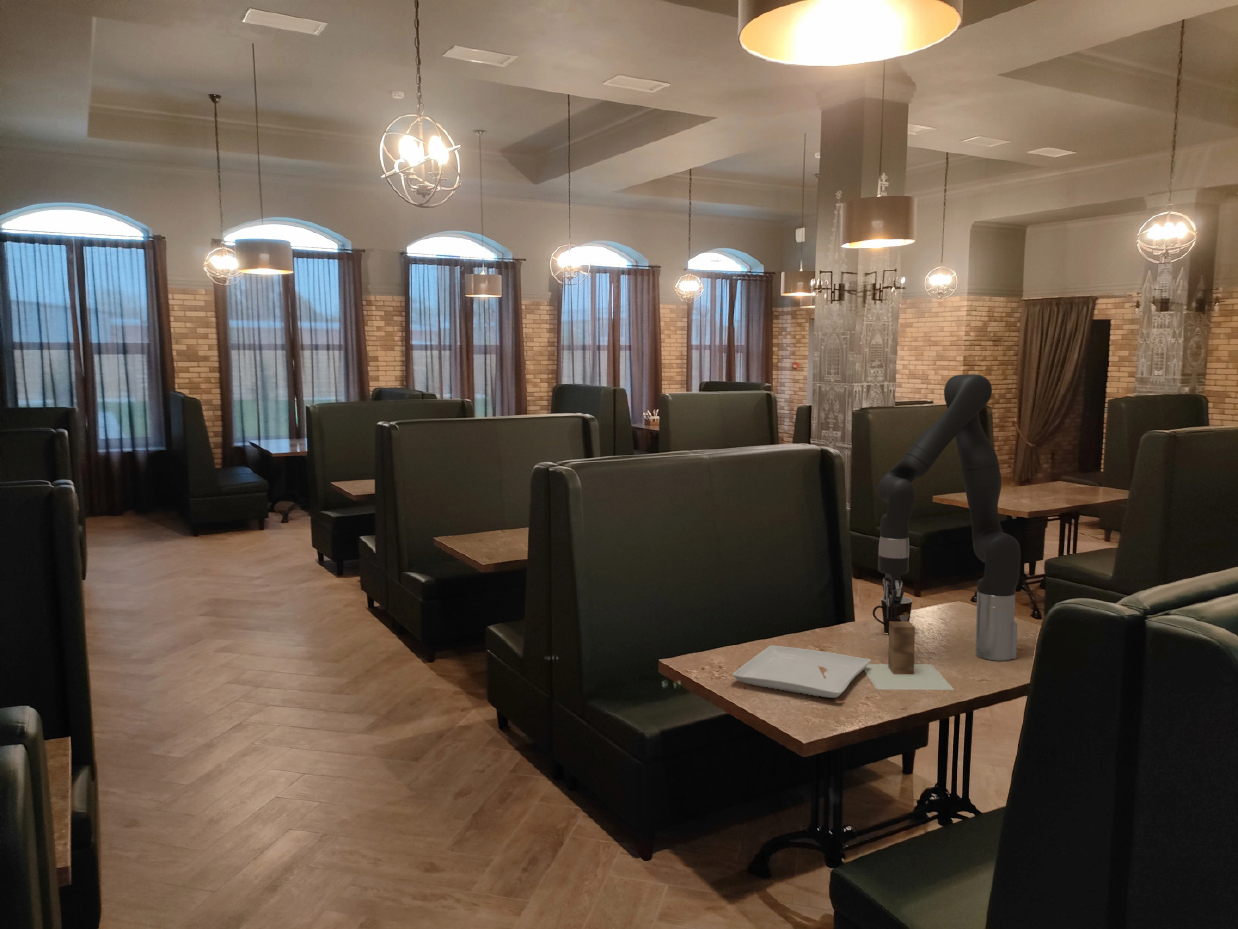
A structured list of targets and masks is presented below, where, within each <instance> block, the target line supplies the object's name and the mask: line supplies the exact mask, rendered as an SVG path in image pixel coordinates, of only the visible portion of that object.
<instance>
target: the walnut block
mask: <svg viewBox="0 0 1238 929" xmlns="http://www.w3.org/2000/svg"><path fill="white" fill-rule="evenodd" d="M915 629H916V627H915V626H914V625H913V623H911V622H910V621H889V635H888V663H887V664H888V668H889V669H890V670H891V672H892V673H893V674H914V664H915V647H916V646H915V645H916V644H915V642H916V641H915V640H916V639H915V635H916V630H915Z"/></svg>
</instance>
